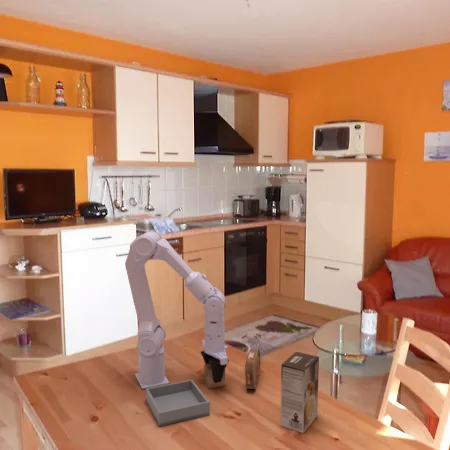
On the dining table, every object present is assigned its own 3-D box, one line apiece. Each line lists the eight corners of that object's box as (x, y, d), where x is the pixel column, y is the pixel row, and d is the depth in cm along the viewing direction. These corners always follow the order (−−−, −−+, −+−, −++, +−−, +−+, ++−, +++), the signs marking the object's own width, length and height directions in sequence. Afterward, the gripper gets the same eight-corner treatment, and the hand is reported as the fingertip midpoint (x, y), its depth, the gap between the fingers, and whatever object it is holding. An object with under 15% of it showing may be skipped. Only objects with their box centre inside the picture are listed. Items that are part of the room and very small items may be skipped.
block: (203, 382, 131) (203, 364, 130) (219, 379, 133) (219, 361, 132) (209, 388, 127) (209, 370, 127) (225, 385, 129) (225, 367, 129)
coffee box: (294, 408, 117) (296, 350, 115) (317, 416, 114) (320, 356, 112) (279, 426, 109) (280, 363, 107) (304, 434, 106) (306, 370, 104)
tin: (254, 394, 124) (254, 366, 123) (243, 393, 125) (243, 364, 124) (261, 370, 139) (261, 344, 138) (251, 369, 140) (251, 343, 139)
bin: (145, 400, 121) (145, 388, 120) (192, 391, 126) (191, 379, 126) (159, 426, 109) (159, 413, 108) (209, 414, 114) (209, 402, 114)
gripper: (238, 340, 123) (237, 386, 125) (217, 323, 136) (217, 365, 138) (214, 344, 120) (214, 391, 122) (195, 326, 134) (195, 369, 135)
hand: (214, 378), depth 130 cm, fingers closed on block, 4 cm apart
